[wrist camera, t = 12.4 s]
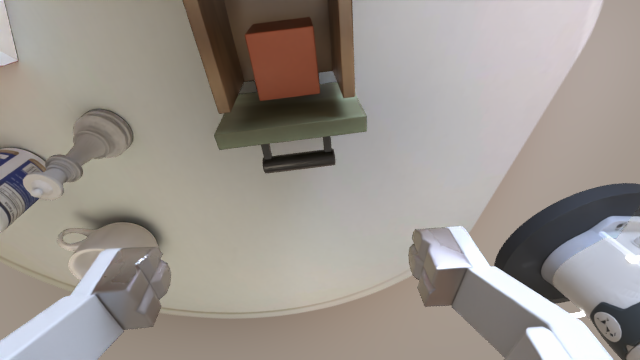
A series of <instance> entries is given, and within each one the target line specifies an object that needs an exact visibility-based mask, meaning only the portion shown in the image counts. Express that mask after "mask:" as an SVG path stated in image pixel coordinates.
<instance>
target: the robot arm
mask: <svg viewBox="0 0 640 360" xmlns="http://www.w3.org/2000/svg"><path fill="white" fill-rule="evenodd" d="M412 239H413V242H414V244H413V245H412V246H411V247H410V248H409V254H408V256H409V265H410V269H411V272H412V275H413V276H414V277H415V278H416V279H418V280H419V284H418V287H417V288H418V290H419V293H420V296H421V298H422V301H423V303H424V306H425V307H427V306H449V305H452V308H453V309H454V310H455V311H456V312H458V313H459V314H460V315H461V316H462V317H463V318H464V319H465V320H466V321H467V322H468V323H469V324H470V325H471V326H472V327H473V328H474V329H475V330H476V331H477V332H478V333H480V335H481V336H483V337H484V338H485V339H486V340H487V341H488V342H489V343H490V344H491V345H492V346H493V347H494V348H495V349H496V350H497V351H498V352H499V353H500V354H501V355H502V356H503V357H504V358H505V359H504V360H613V358H612V357H611V356H610V355H609V354H608V352H607V351H606V350H605V349H604V347H603V346H602V345H601V344H600V342H599V341H598V340H597V339H596V338H595V336H594V335H593V334H592V333H591V331H590V330H589V329H588V328H587V326H586V325H585V324H584V323H583V322H582V321H580V320H579V319H577V318H578V317H583V316H587V317H588V318H589V319H590V320H591V321H592V322H593V324H594V325H595V327H596V328H597V330H598V331H599V333H600V334H601V336H602V337H603V339H604V340H605V341H606V342H607V343H608V344H609V346H610V347H611V348H612V349H613V350H614V352H615V353H616V354H617V355H618V356H619V357H620V358H621V359H622V360H640V216H611V217H608V218H606V219H604V220H602V221H601V222H599V223H598V224H597V225H595V226H594V227H593V228H591V229H590V230H588V231H586V232H584V233H582V234H580V235H578V236H576V237H574V238H572V239H570V240H568V241H567V242H565V243H564V244H562V245H561V246H559V247H558V248H557V249H556V250H554V251H553V252H552V253H551V254H550V255H549V256H548V258H547V259H546V260H545V262H544V263H543V265H542V268H541V275H542V277H543V279H544V280H546V281H547V282H549V283H550V284H551V285H553V286H554V287H555V288H556V289H558V290H559V291H560V292H561V293H562V294H563V295H565V296H566V297H567V298H568V299H569V300H570V301H571V302H572V303H573V304H574V305H575V306H576V307H578V309H579V310H581V311H582V312H578V313H574V314H569V313H568V312H566V311H564V310H563V309H561V308H560V307H558V306H557V305H555V304H554V303H552V302H550V301H549V300H547V299H546V298H544V297H543V296H541V295H539V294H538V293H536V292H535V291H533V290H531V289H530V288H528V287H527V286H525V285H524V284H522V283H520V282H519V281H517V280H516V279H514V278H513V277H511V276H509V275H508V274H506V273H505V272H503V271H502V270H500V269H498V268H497V267H495V266H493V267H490V265H489V264H488V263H487V261H486V259H485V258H484V257H483V255H482V253H481V252H480V250H479V249H478V248H477V246H476V245H475V243H474V242H473V240H472V238H471V237H470V236H469V234H468V232H467V231H466V229H465V228H464V227H462V226H456V227H446V228H445V227H441V228H428V229H415V230H414V232H413V235H412ZM162 255H163V254H162V252H161V250H160V248H159V247H133V248H115V249H105V250H104V251H102V252H101V253H100V254H99V255H98V257H97V258H96V260H95V261H94V263H93V264H92V265H91V267H90V268H89V270H88V271H87V272H86V274H85V275H84V277H83V278H82V280H81V281H80V282H79V284H78V285H77V287H76V288H75V289H74V291H73V292H72V294H71V295H70V296H65V297H63V298H61V299H60V300H59V301H57V302H56V303H54V304H53V305H52V306H50V307H48V308H47V309H46V310H44V311H43V312H41V313H40V314H38V315H37V316H35V317H34V318H33V319H31V320H30V321H29V322H27V323H25V324H24V325H23V326H21V327H20V328H18V329H17V330H15V331H14V332H12V333H11V334H9V335H8V336H7V337H5V338H4V339H2V340H1V341H0V360H97V359H98V358H99V357H100V356H101V355H102V354H103V353H104V352H105V351H106V350H107V349H108V348H109V347H110V346H111V344H113V343H114V342H115V340H116V339H117V338H118V337H119V336H120V335H121V334H122V333H123V332H124V330H126V329H137V328H146V327H153V325H154V323H155V321H156V318H157V316H158V313H159V311H160V309H161V303H160V301H159V300H160V299H161V298H162V297H163V296H164V295H165V294H166V293H167V291H168V289H169V286H170V281H171V272H170V268H169V266H168V263H166V262H164V261H163V260H161V257H162Z"/></svg>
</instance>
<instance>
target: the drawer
mask: <svg viewBox="0 0 640 360" xmlns="http://www.w3.org/2000/svg"><path fill="white" fill-rule="evenodd" d="M183 4H184V7H185V10H186V13H187V16H188V19H189V22H190V25H191V28H192V32H193V35H194V38H195V41H196V44H197V47H198V50H199V53H200V56H201V60H202V63H203V66H204V69H205V72H206V75H207V78H208V81H209V84H210V88H211V91H212V94H213V97H214V100H215V103H216V106H217V109H218V112H219V114H221V113H224V115H223V117H222V119H221V122H220V124H219V126H218V128H217V130H216V132H215V134H214V136H215V139H216V142H217V145H218V148H219V150H222V149H230V148H238V147H246V146H254V145H261V147H262V151H263V155H264V158H263V169H264V172H265V173H274V172H283V171H291V170H299V169H307V168H315V167H323V166H331V165H335V154H334V149H332V148H331V137H330V136H335V135H343V134H351V133H359V132H366V131H367V116H366V114H365V112H364V110H363V108H362V106H361V104H360V102H359V100H358V98H357V96H356V94H355V77H354V45H353V13H352V0H183ZM305 17H310V18H311V21H312V24H313V27H314V36H315V46H316V55H317V65H318V73H319V72H327V71H333V73H334V75H335V78H336V80H337V82H335V83H327V84H319V85H320V93H319V94H312V95H304V96H296V97H288V98H280V99H272V100H264V101H260V100H259V96H258V92H255V93H247V94H239V92H240V90H241V88H242V86H243V83H244V82H247V81H255V78H254V74H253V70H252V65H251V61H250V57H249V52H248V48H247V44H246V39H245V34H246V32H247V31H248V30H249V28H250V27H251V26H252V25H253V24H257V23H265V22H273V21H281V20H289V19H297V18H305ZM238 94H239V95H238ZM318 137H323V144H324V150H317V151H309V152H301V153H293V154H285V155H277V156H272V153H271V148H270V143H278V142H286V141H294V140H302V139H310V138H318Z"/></svg>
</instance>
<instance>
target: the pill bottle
mask: <svg viewBox="0 0 640 360" xmlns="http://www.w3.org/2000/svg"><path fill="white" fill-rule="evenodd" d="M45 171H46V168H45V161H44V160H42V159H41V158H40V157H38V156H36V155H34V154H32V153H30V152H28V151H25V150H22V149H17V148H3V149H0V233H1V232H2V231H4V230H5V229H6V228H7V227H8V226H9V225H10V224H12V223H13V222H14V221H15V220H16V219H17V218H18V217H19V216H21V215H22V214H23V213H24V212H25V211H26V210H27V209H28V208H29V207H30V206H32V205H33V204H34V203H35V202H36V201H37V200H38V199H39V198H38V197H33V196H31V194H30V193H29V192H28V191H27V190H26V189H25V187H24V185H23V179H24V177H25V176H26V175H28V174H30V173H33V172H45Z"/></svg>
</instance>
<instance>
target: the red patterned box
mask: <svg viewBox="0 0 640 360" xmlns="http://www.w3.org/2000/svg"><path fill="white" fill-rule="evenodd" d="M17 61H18V58H17V54H16V49H15V45H14V41H13V37H12V32H11V28H10V24H9V20H8V16H7V11H6V7H5V3H4V0H0V67H2V66H5V65H8V64H11V63H14V62H17Z"/></svg>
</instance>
